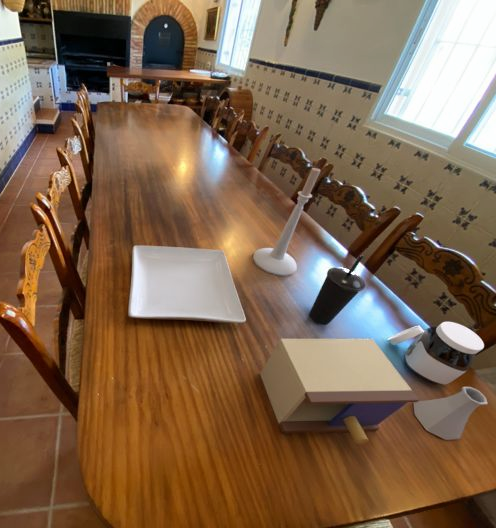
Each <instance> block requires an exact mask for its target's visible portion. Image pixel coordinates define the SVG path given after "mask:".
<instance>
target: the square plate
mask: <svg viewBox="0 0 496 528" xmlns="http://www.w3.org/2000/svg"><path fill="white" fill-rule="evenodd" d="M131 255H132V256H131V257H132V258H131V276H130V277H131V280H130V290H129V297H128V298H129V300H128V309H127V310H128V311H127V312H128V317H129V318H133V319H143V320H145V319H146V320H183V321H201V322H212V323H224V324H243V323H246V321H247V318H246V316H245V312H244V309H243V306H242V303H241V300H240V297H239V294H238V291H237V288H236V286H235V281H234V279H233V276H232V272H231V269H230V266H229V263H228V259H227V256H226V254H225V251H224V250H220V249H208V248H196V247H195V248H194V247H178V246H163V245H162V246H161V245H134V246H132V253H131Z"/></svg>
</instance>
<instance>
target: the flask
mask: <svg viewBox="0 0 496 528" xmlns="http://www.w3.org/2000/svg"><path fill="white" fill-rule="evenodd" d="M412 403H413V413H414V414H413V415H414V416H415V418H417V420H418V422H420V424H421V425H422V427H423V428H424V429H425V431H426V432H429V433H430V434H433V435H435V436H437V437H439V438H441V439H443V440H445V441H451V440H452V441H453V440H460V439H461V436H462V434H463V432H464V429H465V426H466V425H467V422H468V420H469V418H470V417H471V415H472V413H473V412H474V411H475V410H476V409H477V408H478V407H480V406H487V405H488V404H489V403H488V400H487V397H486V396H485V395H484V394H483V393H482V392H481V391H480V390H479V389H476V388H474V387H471V386H462V387H461V391H459V392H457V393H455V394H452V395H450V396H447V397H440V398H434V399H427V400H419V401H418V402H412Z"/></svg>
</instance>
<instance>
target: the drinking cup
mask: <svg viewBox="0 0 496 528" xmlns="http://www.w3.org/2000/svg"><path fill="white" fill-rule="evenodd" d="M363 258H364V255H362V254H359V255H358V257H357V259H356V260H355V262H354V263H353V264H352V266H351V267H350V269H348V268H344V267H340V266H334V267H330V268H329V269H328V270H327V272H326V277H325V279H324V281H323V283H322V285H321V288H320V290H319V291H318V293H317V296H316V298H315V300H314V302H313V303H312V306H311V308H310V311H309V312H308V316H309V318H310V320H311V321H313V322H314V323H315V324H317V325H320V326H327V325H329V324H330V323H331V322H332V321H333V320H334V319H335V318H336V317H337V316H338V314H340V312H342V310H343V309H344V308H345V307H346V306H347V305H348V304H350V302H351V301H352V300H353V299H354V298H355V297H356V296H357V295H358V294H359V292H362V291H363V290H364V289H365V288H366V282H365V280H364V279H363V278H362V277H361V276H360V275H359V274H357V273H356V272H355V270H356V268H357V266H359V263H360V262H361V261H362V259H363Z"/></svg>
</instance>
